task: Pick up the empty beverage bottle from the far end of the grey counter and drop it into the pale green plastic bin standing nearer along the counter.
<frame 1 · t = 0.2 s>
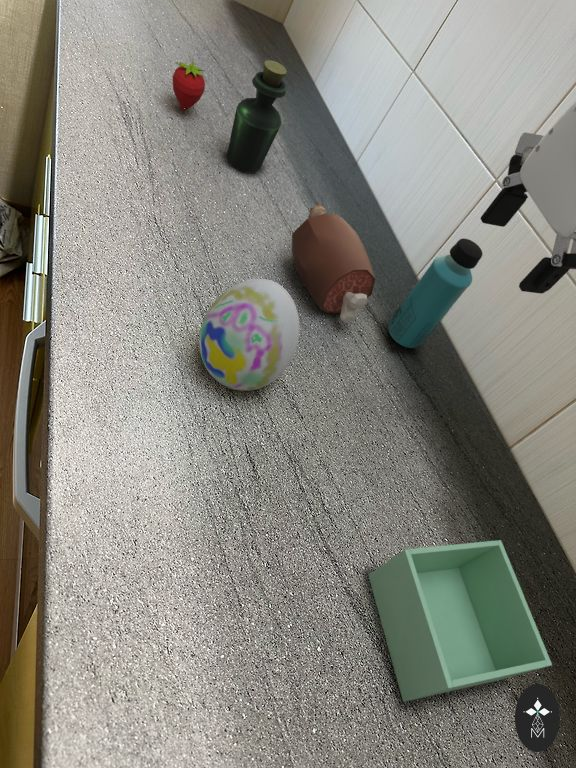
hand: (510, 255, 59), 30 cm above the worktop, tool pointing down, fingers open, 9 cm apart
decorative egg: (235, 366, 78), on the worktop
strawberry: (182, 111, 109), on the worktop
potion bottle: (243, 163, 106), on the worktop
meat: (318, 286, 93), on the worktop
beverage bottle: (399, 339, 93), on the worktop
bin: (433, 626, 66), on the worktop
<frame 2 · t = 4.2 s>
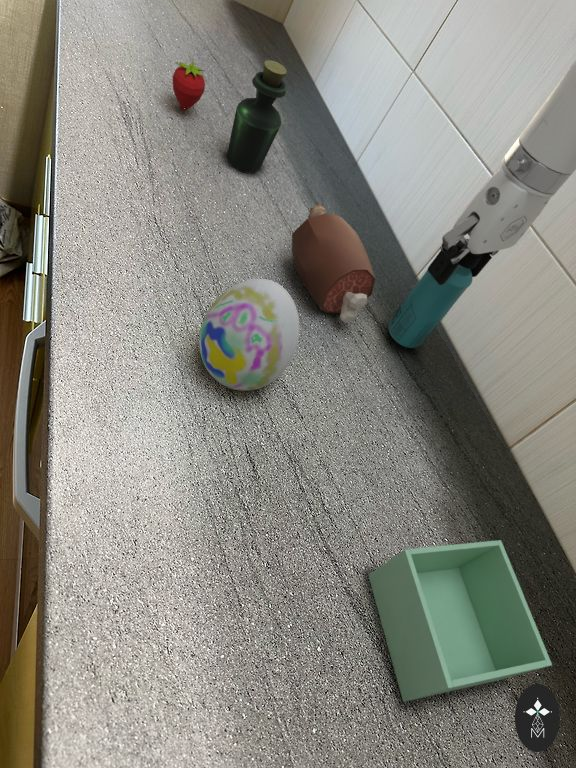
hand: (452, 272, 81), 15 cm above the worktop, tool pointing down, fingers closed on beverage bottle, 6 cm apart
beverage bottle: (399, 339, 93), on the worktop, touching gripper
everything else where it was.
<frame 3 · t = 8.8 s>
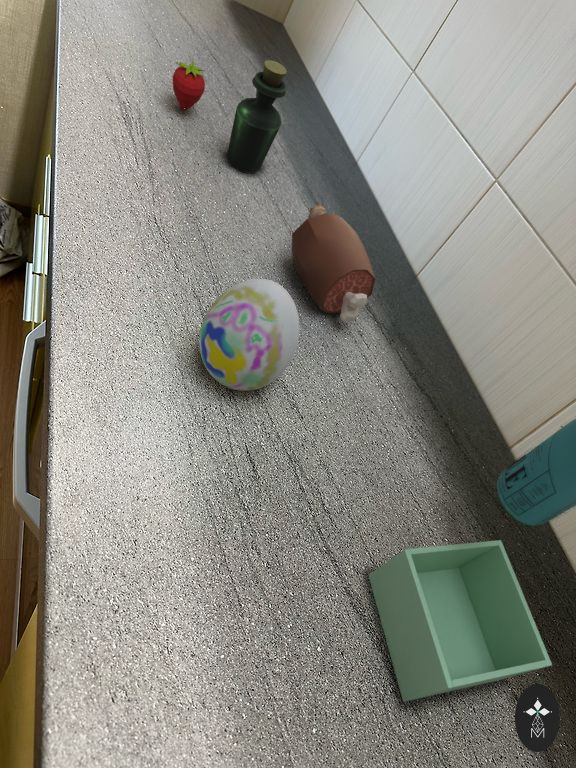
beverage bottle: (510, 503, 58), point 16 cm above the worktop, touching gripper
everything else where it was.
when the fingers open (16 cm above the worktop, at t = 13.6 s): beverage bottle stays where it is, resting on bin.
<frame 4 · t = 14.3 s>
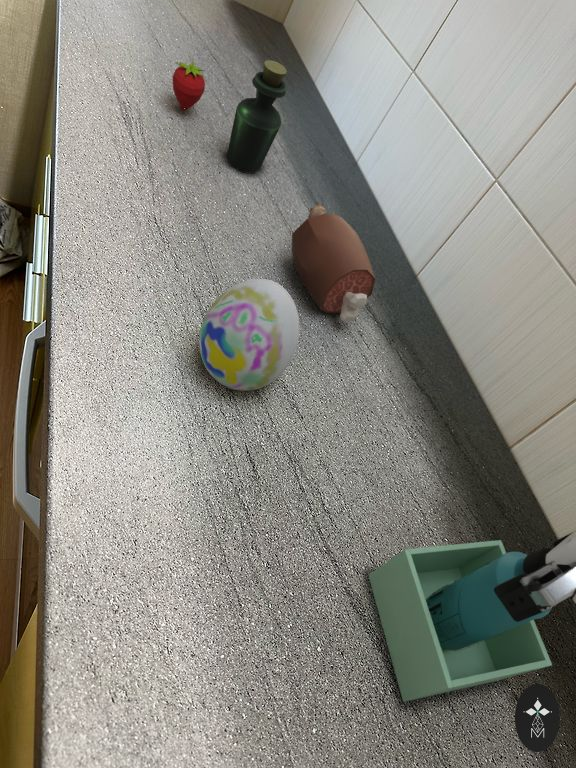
hand: (536, 579, 52), 17 cm above the worktop, tool pointing down, fingers open, 9 cm apart
beverage bottle: (435, 625, 65), resting on bin
everything else where it was.
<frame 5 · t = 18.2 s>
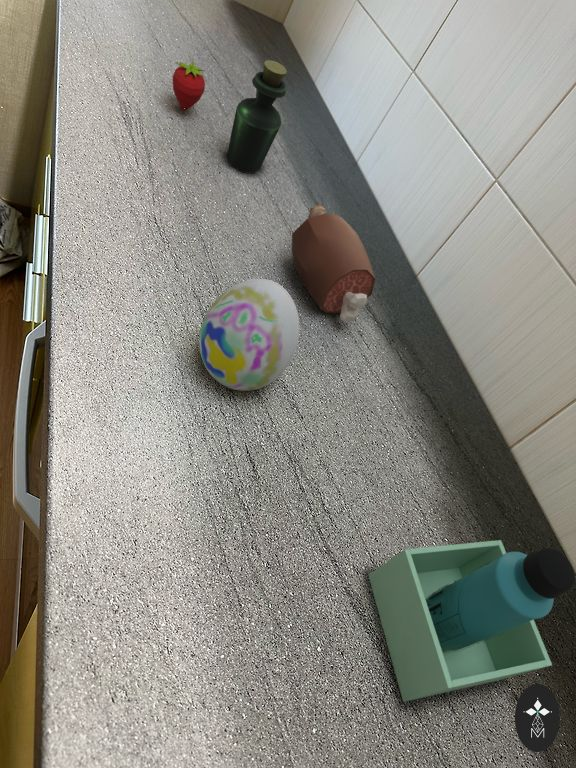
nothing on the worktop moved.
at the end: beverage bottle inside the target area in the bin (0.1 cm from its centre), point 0.3 cm above the bin's base; the gripper is holding nothing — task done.
